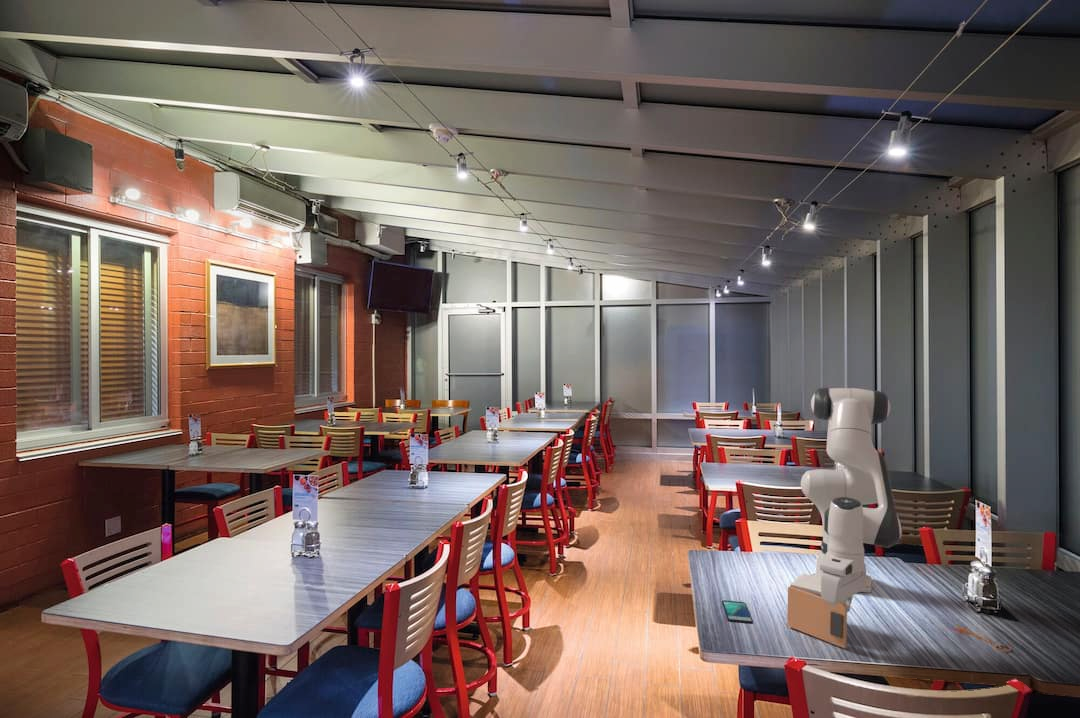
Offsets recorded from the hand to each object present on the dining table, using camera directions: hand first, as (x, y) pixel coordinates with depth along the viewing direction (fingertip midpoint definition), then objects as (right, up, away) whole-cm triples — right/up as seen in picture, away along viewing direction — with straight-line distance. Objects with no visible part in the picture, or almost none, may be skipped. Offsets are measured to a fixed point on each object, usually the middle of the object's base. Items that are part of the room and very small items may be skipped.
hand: (844, 612), depth 159 cm
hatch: (-6, -8, +4) cm, 11 cm away
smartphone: (-22, -9, +20) cm, 31 cm away
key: (+40, -10, +5) cm, 41 cm away
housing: (-2, -9, +11) cm, 14 cm away
